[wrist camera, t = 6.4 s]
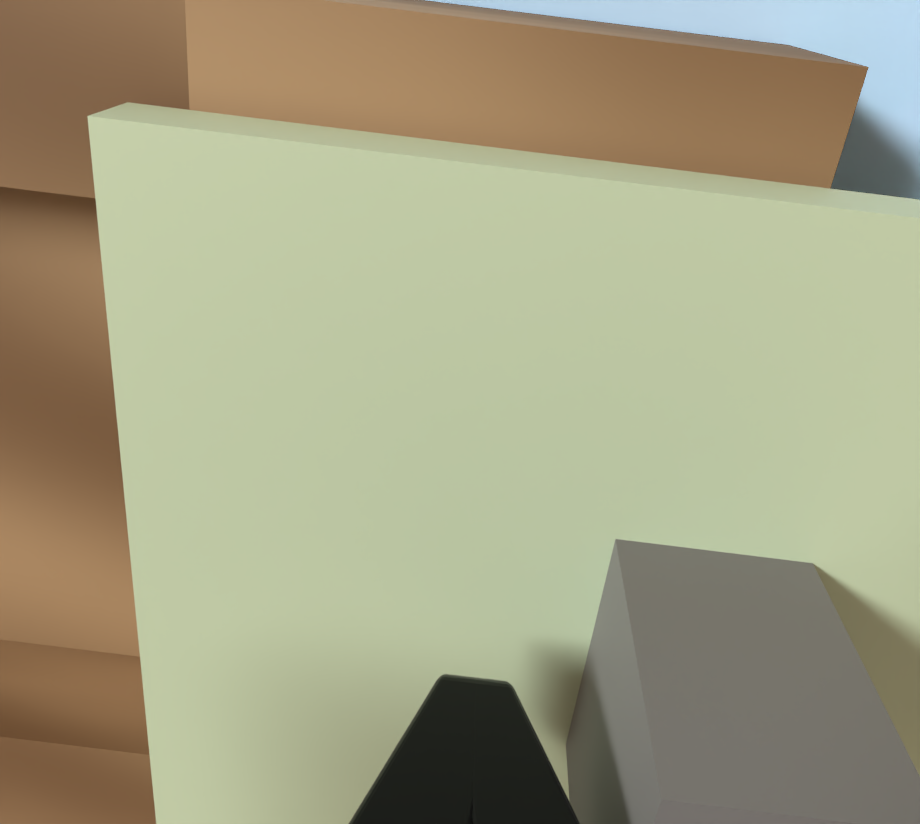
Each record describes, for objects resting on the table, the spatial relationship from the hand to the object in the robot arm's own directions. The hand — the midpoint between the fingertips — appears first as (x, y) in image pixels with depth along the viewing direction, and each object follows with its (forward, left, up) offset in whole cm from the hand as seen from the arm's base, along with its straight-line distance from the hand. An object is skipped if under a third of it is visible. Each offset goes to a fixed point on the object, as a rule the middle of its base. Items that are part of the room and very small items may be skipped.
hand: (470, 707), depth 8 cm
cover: (0, -2, -2) cm, 3 cm away
